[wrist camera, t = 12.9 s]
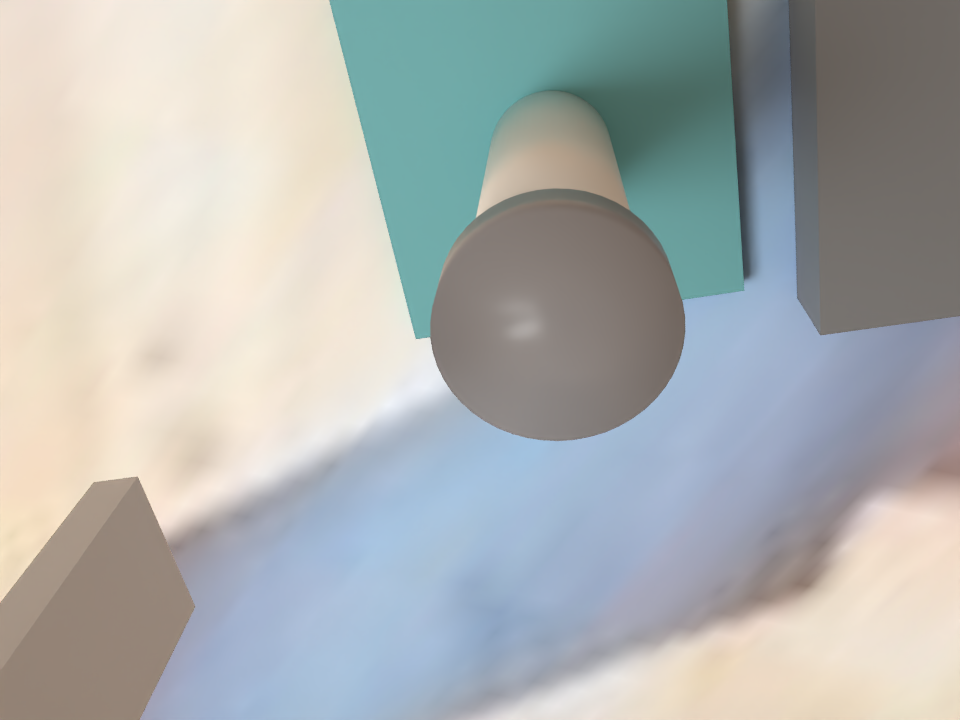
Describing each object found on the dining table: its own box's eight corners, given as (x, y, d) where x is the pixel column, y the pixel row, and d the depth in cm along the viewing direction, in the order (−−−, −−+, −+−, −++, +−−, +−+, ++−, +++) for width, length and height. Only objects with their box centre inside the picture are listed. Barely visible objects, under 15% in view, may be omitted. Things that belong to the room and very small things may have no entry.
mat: (739, 281, 32) (744, 290, 31) (418, 329, 33) (415, 339, 33) (717, -83, 26) (722, -83, 26) (334, -3, 28) (329, 0, 27)
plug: (634, 211, 30) (694, 424, 18) (490, 234, 31) (457, 454, 19) (617, 61, 28) (673, 192, 16) (461, 89, 28) (404, 236, 16)
